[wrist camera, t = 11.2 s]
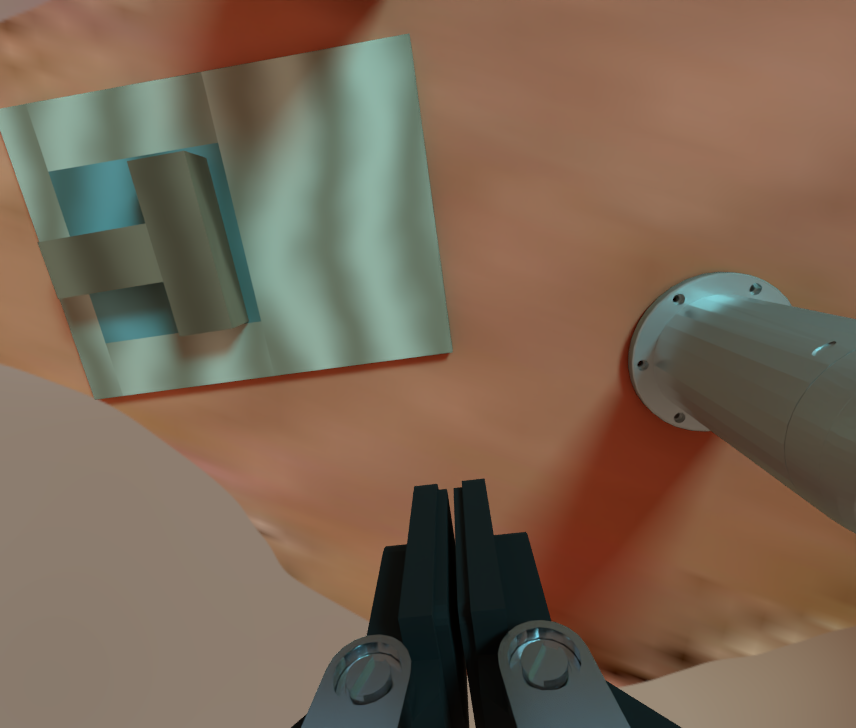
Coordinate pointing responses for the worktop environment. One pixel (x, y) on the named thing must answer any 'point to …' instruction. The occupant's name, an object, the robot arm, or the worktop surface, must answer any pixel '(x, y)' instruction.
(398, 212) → the board
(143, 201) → the t block
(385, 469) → the worktop surface
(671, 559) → the worktop surface
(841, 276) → the worktop surface
